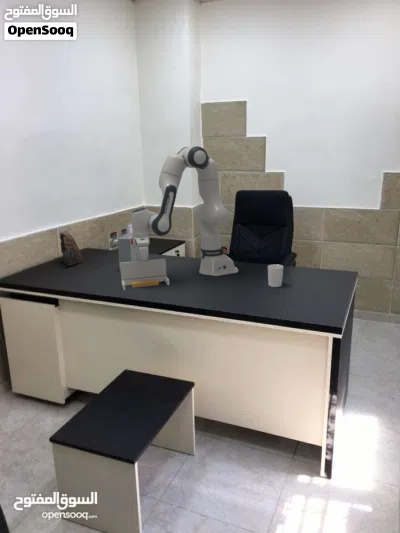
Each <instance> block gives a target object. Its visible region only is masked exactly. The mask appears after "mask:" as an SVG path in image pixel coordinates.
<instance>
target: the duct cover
mask: <svg viewBox="0 0 400 533" xmlns="http://www.w3.org/2000/svg"><path fill="white" fill-rule="evenodd" d="M120 267H121V271H120V278H121V281H122V280H131V279H141V278H150V277H160V276H167V261H166V258H157V259H156V258H155V259H148V260H144V261H141V260H140V261H133V262H122V263H120ZM120 267H119V268H120Z"/></svg>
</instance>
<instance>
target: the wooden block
mask: <svg viewBox="0 0 400 533" xmlns="http://www.w3.org/2000/svg"><path fill="white" fill-rule="evenodd" d="M159 285H160V282H159V281H158V280H149V281H139V282H132V285H131V287H132V288H133V289H134V288H142V287H151V286H159Z"/></svg>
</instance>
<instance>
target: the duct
mask: <svg viewBox="0 0 400 533" xmlns="http://www.w3.org/2000/svg"><path fill="white" fill-rule="evenodd" d="M149 280H158V281H159V283H161V282H162V281H164V283H165V284H166V285H167V286H170V279H169V277H168V276H167V275H164V276H154V277H144V278H135V279H125V280H121V286H122V290H123V291H126V287H127V286H132V282H139V281H149Z"/></svg>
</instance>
